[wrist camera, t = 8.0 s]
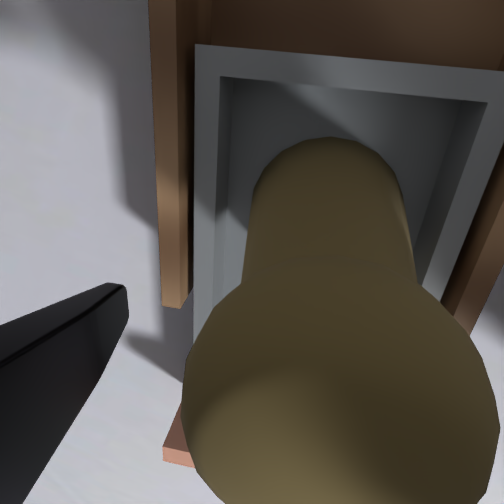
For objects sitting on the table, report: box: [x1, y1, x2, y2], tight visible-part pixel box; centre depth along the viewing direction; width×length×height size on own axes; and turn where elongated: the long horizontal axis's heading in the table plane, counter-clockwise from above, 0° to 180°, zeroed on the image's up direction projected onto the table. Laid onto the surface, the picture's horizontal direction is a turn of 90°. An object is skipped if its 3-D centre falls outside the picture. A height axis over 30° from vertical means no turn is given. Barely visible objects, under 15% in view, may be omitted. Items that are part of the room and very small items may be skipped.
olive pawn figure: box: [180, 136, 500, 504], centre depth 10 cm, size 6×6×11 cm
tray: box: [163, 44, 504, 468], centre depth 15 cm, size 19×12×4 cm, turn 176°
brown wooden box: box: [148, 0, 504, 336], centre depth 12 cm, size 19×12×4 cm, turn 176°
